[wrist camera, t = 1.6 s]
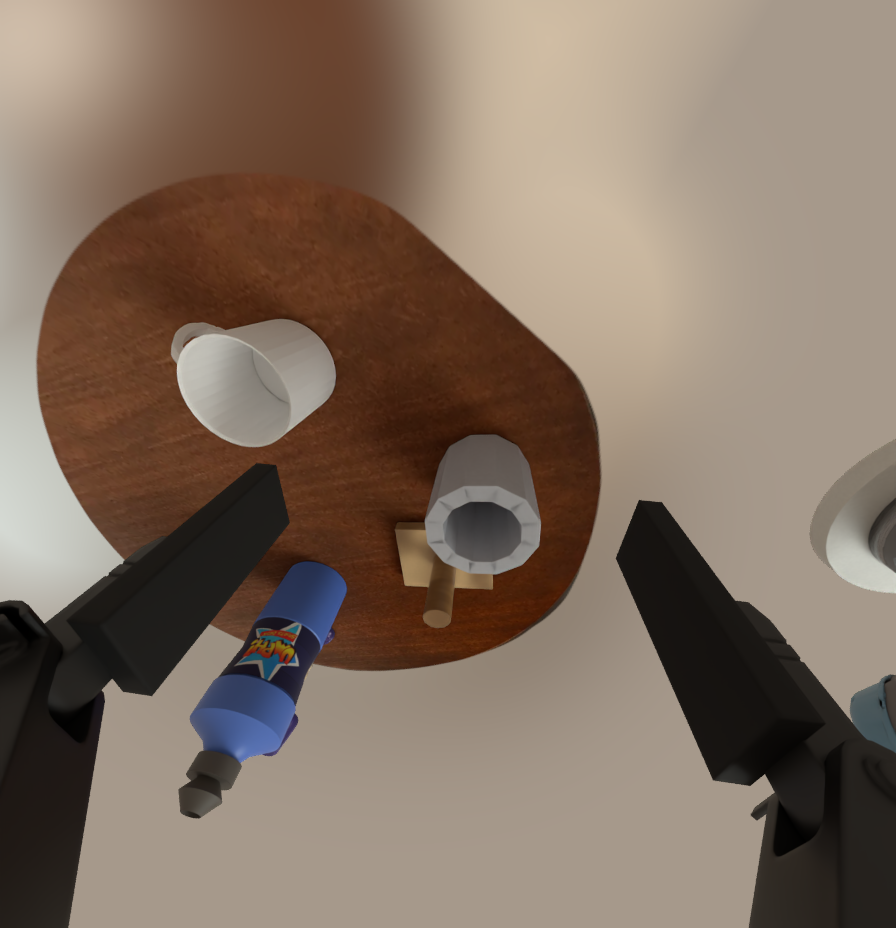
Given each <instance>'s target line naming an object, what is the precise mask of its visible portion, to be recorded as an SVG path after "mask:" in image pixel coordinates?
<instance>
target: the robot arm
mask: <svg viewBox="0 0 896 928" xmlns="http://www.w3.org/2000/svg"><path fill="white" fill-rule="evenodd" d="M289 523H290V522H289V518H288V514H287V509H286V505H285V501H284V497H283V492H282V488H281V484H280V480H279V476H278V471H277V467H276V465H269V464H259V463H256V464H255V465H254V466H253V467H251V468H250V469H249V470H248V471H246V472H245V473H244V474H243V475H242V476H240V477H239V478H238V479H237V480H236V481H234V482H233V483H232V484H231V485H229V486H228V487H227V488H226V489H225V490H223V491H222V492H221V493H220V494H219V495H217V496H216V497H215V498H214V499H212V500H211V501H210V502H209V503H208V504H206V505H205V506H204V507H203V508H202V509H200V510H199V511H198V512H197V513H195V514H194V515H193V516H192V517H191V518H189V519H188V520H187V521H186V522H185V523H183V524H182V525H181V526H180V527H178V528H177V529H176V530H175V531H174V532H172V533H171V534H170V535H169V536H168V537H165V536H162V537H160V538H158V539H156V540H154V541H152V542H151V543H149V544H147V545H145V546H143V547H141V548H140V549H138V550H137V551H136V552H135V553H133V554H132V555H131V556H130V557H128V558H127V559H126V560H125V561H124V562H123V564H120V565H118V566H117V567H116V568H114V569H113V570H112V571H111V572H109V575H108V576H105V577H103V578H102V579H101V580H99V581H98V582H97V583H96V584H94V585H93V586H92V587H91V588H90V589H88V590H87V591H85V592H84V593H83V594H82V595H81V596H79V597H78V598H77V599H75V600H74V601H73V602H72V603H70V604H69V605H68V606H67V607H65V608H64V609H63V610H62V611H60V612H59V613H58V614H56V615H55V616H54V617H53V618H51V619H50V620H49V621H47V622H46V623H45V624H44V623H43V622H42V620H41V619H40V618H39V617H38V616H37V615H36V613H35V612H34V611H33V610H32V609H31V608H30V606H29V605H27V604H26V603H24V602H23V601H11V600H9V601H5V602H0V928H68V926H69V919H70V913H71V907H72V901H73V894H74V888H75V882H76V876H77V870H78V864H79V858H80V851H81V845H82V839H83V833H84V827H85V821H86V814H87V808H88V802H89V796H90V790H91V784H92V777H93V771H94V765H95V759H96V753H97V747H98V741H99V734H100V728H101V722H102V715H103V710H104V703H105V699H104V693H103V692H102V689H103V688H104V687H105V685H106V684H107V683H108V682H109V681H110V680H111V679H113V680H114V681H115V682H116V684H117V685H118V686H119V687H120V689H121V690H122V691H123V692H129V693H135V694H142V695H149V696H152V695H153V694H154V693H155V692H156V690H157V689H158V688H159V687H160V685H161V684H162V683H163V682H164V680H165V679H166V678H167V676H168V675H169V674H170V673H171V671H172V670H173V669H174V668H175V666H176V665H177V664H178V663H179V661H180V660H181V659H182V658H183V656H184V655H185V654H186V653H187V651H188V650H189V649H190V647H191V646H192V645H193V644H194V643H195V641H196V640H197V639H198V637H199V636H200V635H201V634H202V632H203V631H204V630H205V629H206V627H207V626H208V625H209V624H210V622H211V621H212V620H213V619H214V617H215V616H216V615H217V614H218V612H219V611H220V610H221V609H222V607H223V606H224V605H225V604H226V602H227V601H228V600H229V599H230V597H231V596H232V595H233V593H234V592H235V591H236V590H237V588H238V587H239V586H240V585H241V583H242V582H243V581H244V580H245V578H246V577H247V576H248V575H249V573H250V572H251V571H252V570H253V568H254V567H255V566H256V565H257V563H258V562H259V561H260V560H261V558H262V557H263V556H264V555H265V553H266V552H267V551H268V549H269V548H270V547H271V546H272V544H273V543H274V542H275V541H276V539H277V538H278V537H279V536H280V534H281V533H282V532H283V531H284V529H285V528H286V527H287V526H288V524H289ZM868 544H869V548H870V551H871V553H872V554H873V556H874V557H875V558H876V559H877V560H879V561H880V562H881V563H883V564H884V565H885V566H887V567H888V568H889V569H891V570H892V571H893V572H895V573H896V498H895V499H894V500H893V501H892V502H891V503H890V504H889V505H887V506H886V507H885V509H884V510H883V511H882V512H881V513H880V514H879V516H878V517H877V518H876V520H875V522H874V523H873V525H872V527H871V530H870V533H869V538H868ZM616 560H617V562H618V564H619V567H620V569H621V571H622V573H623V576H624V578H625V580H626V582H627V585H628V587H629V589H630V591H631V594H632V596H633V599H634V601H635V603H636V605H637V608H638V610H639V612H640V614H641V617H642V619H643V621H644V624H645V626H646V628H647V630H648V633H649V635H650V637H651V639H652V642H653V644H654V646H655V649H656V650H657V653H658V656H659V658H660V660H661V662H662V665H663V667H664V669H665V672H666V674H667V676H668V678H669V681H670V683H671V685H672V687H673V690H674V692H675V694H676V697H677V699H678V701H679V703H680V706H681V708H682V710H683V713H684V715H685V717H686V719H687V722H688V724H689V726H690V728H691V731H692V733H693V735H694V738H695V740H696V742H697V745H698V747H699V749H700V751H701V754H702V756H703V758H704V760H705V763H706V765H707V767H708V770H709V772H710V774H711V776H712V779H713V780H715V781H721V782H728V783H735V784H741V785H748V786H751V785H752V784H753V783H754V782H756V781H757V780H758V779H759V778H760V777H762V776H763V775H764V774H765V775H766V777H767V778H768V780H769V782H770V784H771V786H772V788H773V790H774V791H775V793H774V794H772V795H771V796H770V797H768V798H767V799H766V800H764V801H763V802H761V803H760V804H759V805H757V806H756V807H755V808H754V810H753V812H752V813H751V816H752V817H753V818H755V819H756V820H758V819H760V818H761V817H763V816H764V815H765V814H767V815H766V821H765V827H764V834H763V840H762V847H761V853H760V859H759V866H758V873H757V878H756V885H755V892H754V898H753V905H752V911H751V917H750V924H749V928H896V675H888V676H885V677H883V678H882V679H881V681H880V682H879V683H877V684H875V685H872V686H870V687H868V688H866V689H864V690H861V691H859V692H857V693H856V694H855V695H854V696H853V697H852V698H851V706H850V714H851V718H852V721H853V723H852V722H851V720H850V719H849V718H848V717H847V716H846V714H845V713H844V712H843V711H842V709H841V708H840V707H839V706H838V704H837V703H836V702H835V701H834V699H833V698H832V697H831V696H830V694H829V693H828V692H827V691H826V689H825V688H824V687H823V686H822V684H821V683H820V682H819V681H818V679H817V678H816V677H815V676H814V675H813V673H812V672H811V671H810V669H808V667H807V666H806V664H805V663H804V662H801V661H800V657H799V656H798V654H797V653H796V652H795V651H794V649H793V648H792V647H791V646H790V645H787V643H786V639H785V638H784V637H783V636H782V635H781V633H780V632H779V631H778V630H777V628H776V627H775V626H774V624H773V623H772V622H771V621H770V620H769V619H768V618H767V617H766V616H764V615H763V614H762V613H761V612H759V611H758V610H757V609H756V608H755V607H753V606H752V605H751V604H750V603H748V602H741V601H735V600H734V599H733V597H732V596H731V595H730V593H729V592H728V591H727V590H726V588H725V587H724V585H723V584H722V583H721V581H720V580H719V579H718V577H717V576H716V575H715V573H714V572H713V571H712V569H711V568H710V567H709V565H708V564H707V563H706V561H705V560H704V558H703V557H702V556H701V555H700V553H699V552H698V550H697V549H696V548H695V546H694V545H693V544H692V542H691V541H690V540H689V538H688V537H687V536H686V534H685V533H684V532H683V530H682V529H681V528H680V526H679V525H678V523H677V522H676V521H675V519H674V518H673V517H672V515H671V514H670V513H669V511H668V510H667V509H666V507H665V506H664V505H663V503H662V502H652V501H642V500H639V501H638V504H637V506H636V509H635V511H634V514H633V516H632V519H631V521H630V524H629V526H628V529H627V532H626V534H625V537H624V539H623V542H622V544H621V547H620V549H619V552H618V554H617V557H616Z"/></svg>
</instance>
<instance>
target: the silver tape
mask: <svg viewBox="0 0 896 928" xmlns="http://www.w3.org/2000/svg"><path fill="white" fill-rule="evenodd" d="M425 528H426V536H427V543H428V545H429V546H430V547H431V548H432V549H433V551H434V552H435V553H436V554H437V555H438V556H439V558H440V559H441V560H442V561H443V562H444V563H446V564H449V565H451V566H453V567H456V568H458V569H460V570H462V571H465V572H467V573H475V574H499V573H501V572H504V571H507V570H509V569H512V568H515V567H518V566H520V565H522V564H523V563H524V562H525V561H526V560H527V559H528V558H529V557H530V556H531V554H532V553H533V552H534V551H535V550H536V549H537V548H538V546H539V540H540V529H541V520H540V515H539V510H538V505H537V500H536V496H535V491H534V486H533V481H532V476H531V471H530V466H529V463H528V462H527V460H526V459H525V457H524V455H523V454H522V452H521V450H520V449H519V447H518V446H517V445H515V444H513V443H511V442H510V441H508V440H506V439H504V438H502V437H500V436H498V435H469V436H467V437H465V438H464V439H462V440H460V441H458V442H456V443H455V444H453V445H451V446H449V448H448V450H447V451H446V453H445V455H444V457H443V459H442V460H441V462H440V464H439V467H438V471H437V475H436V478H435V482H434V486H433V490H432V494H431V498H430V502H429V505H428V509H427V513H426V517H425Z"/></svg>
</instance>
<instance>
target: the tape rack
mask: <svg viewBox="0 0 896 928" xmlns="http://www.w3.org/2000/svg"><path fill="white" fill-rule="evenodd" d="M395 533H396V539H397V544H398V550H399V555H400V561H401V566H402V572H403V578H404V583H405V586H425V587H428V593H427V598H426V603H425V608H424V613H423V620H424V622H425V623H426V624H428V625H429V626H431V627H435V628H443V627H446V626H447V625H449V623H450V621H451V613H452V604H453V595H454V588H474V589H493V574H475V573H467V572H465V571H462V570H460V569H458V568H456V567H453V566H451V565H449V564H446V563H444V562H443V561H442V560H441V559H440V558H439V556H438V555H437V554H436V553H435V552H434V551H433V549H432V548H431V547H430V546H429V545H428V543H427V536H426V528H425V522H397V525H396V528H395Z"/></svg>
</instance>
